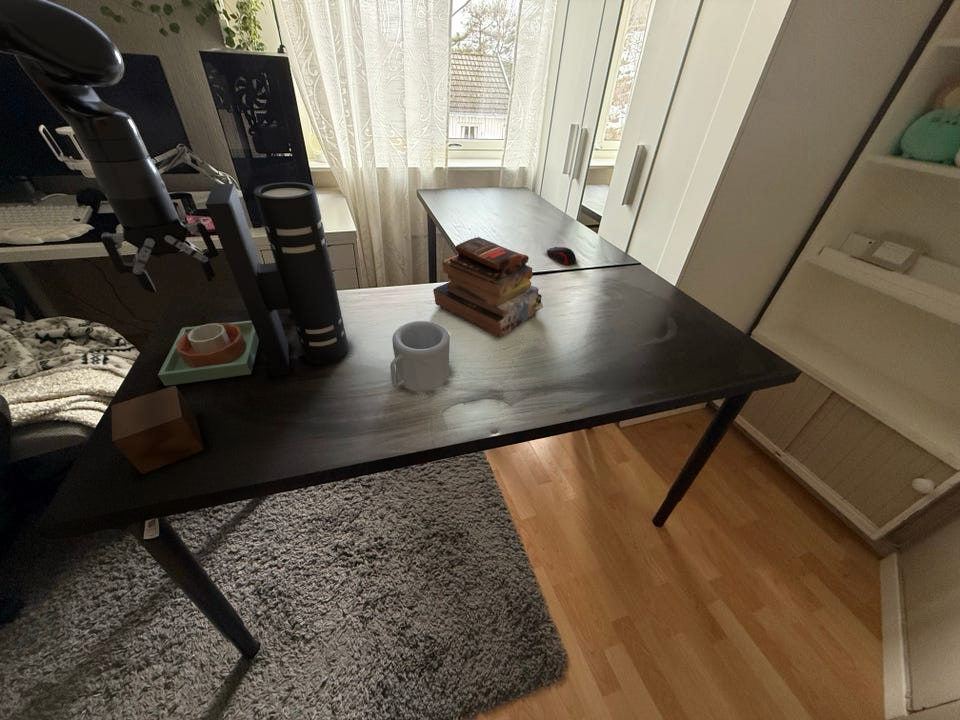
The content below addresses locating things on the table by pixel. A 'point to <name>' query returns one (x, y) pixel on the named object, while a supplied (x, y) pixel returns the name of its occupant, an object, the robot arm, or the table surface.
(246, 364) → the tray
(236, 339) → the big bowl
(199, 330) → the small bowl
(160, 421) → the block
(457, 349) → the table surface
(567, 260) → the computer mouse
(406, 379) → the mug
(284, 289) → the light fixture
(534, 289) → the stack of old books
